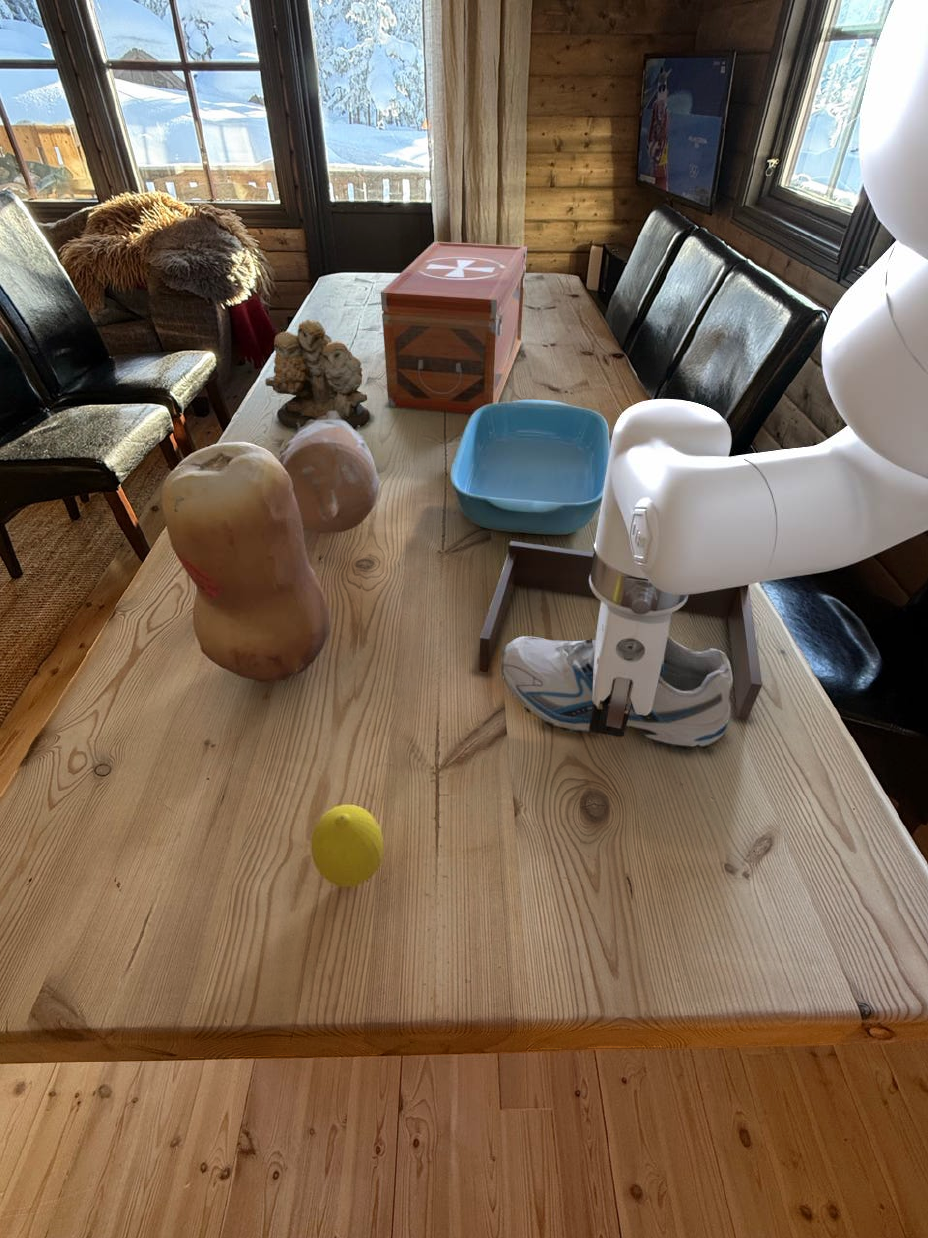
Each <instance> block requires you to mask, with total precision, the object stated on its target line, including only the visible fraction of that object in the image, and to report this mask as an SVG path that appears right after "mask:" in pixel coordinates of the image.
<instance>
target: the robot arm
mask: <svg viewBox="0 0 928 1238" xmlns="http://www.w3.org/2000/svg"><path fill="white" fill-rule="evenodd" d="M860 107H861V108H860V123H859V124H860V125H859V136H858V137H859V138H858V159H859V169H860V175H861V179H862V184H863V188H864V190H865V193H866V196H867V197H868V200H869V202H870V204H871V207H872V209H873V211H874V213H875V216H876V218H877V220H878V221H879V222H880V223H881V224H882V226H884V228H885V229H886V230H887V231H888V232H889V233H890V234H891V235H892V237H893V238H894V239H895V242H894V243H893V244H892V245H891V246H890V247H889V248H888V249H887V250H886V251H885V253H883V254H882V255H881V257H879V259H878V260H876V261H875V262H874V263H873V265H872V266H871V267H869V269H867V271H865V272H864V273H863V274H862V275H861V276H860V277H859V278H858V279H857V280H856V282H854V283H853V285H852V286H850V287H849V288H848V290H847V291H846V292H844V294H843V295H842V297H841V298H840V300H839V301H838V303H837V304H836V306H835V307H834V309H833V310H832V313H831V314H830V317H829V319H828V322H827V324H826V326H825V329H824V333H823V337H822V343H821V368H822V373H823V378H824V382H825V385H826V388H827V391H828V394H829V396H830V398H831V401H832V403H833V405H834V407H835V409H836V410H837V412H838V414H839V415H840V417H841V418H842V420H843V421H844V423H845V424H846V426H845V427H844V428H843V429H841V430H840V431H839V432H837V433H835V434H834V435H832V436H831V437H829V438H828V439H826V440H824V441H823V442H820V443H818V444H816V445H812V446H807V447H806V446H805V447H798V448H789V449H779V450H772V451H763V452H757V453H747V454H740V455H734V456H730V453H731V448H732V439H733V438H732V432H731V427H730V426H729V424H728V423H727V420H726V419H724V418H723V417H722V416H721V415H720V413H718V412H717V411H715V410H714V409H712V408H710V407H707V406H705V405H702V404H699V403H696V402H692V401H687V400H682V399H673V398H672V399H670V398H658V399H657V398H656V399H649V400H643V401H641V402H638V403H636V404H634V405H631V406H630V407H628V408H627V409H625V411H623V412H622V413H621V414H620V415H619V418H618V419H617V421H616V423H615V425H614V427H613V432H612V435H611V441H610V446H609V449H610V453H609V459H608V465H607V471H606V478H605V484H604V490H603V496H602V501H601V503H600V509H599V515H598V521H597V522H598V523H597V529H596V535H595V540H594V547H593V559H592V566H591V572H590V577H589V583H590V587H591V589H592V591H593V593H594V594H595V596H596V597H597V598H596V599H598V600H599V601H600V606H599V613H598V618H597V627H596V634H595V638H596V644H595V655H594V673H593V696H592V701H593V706H592V711H591V717H590V725H589V731H590V732H593V734H599V735H604V736H611V737H616V738H623V737H624V736H625V732H626V729H627V726H626V725H627V721H628V717H629V714H630V710H631V702H632V704H633V707H634V710H635V713H636V714H639V715H645V716H646V715H648V714H649V713H650V712H651V710H652V706H653V702H654V697H655V692H656V688H657V684H658V679H659V675H660V671H661V667H662V662H663V658H664V653H665V648H666V643H667V638H668V635H669V631H670V626H671V620H672V613H674V612H677V611H679V610H678V609H679V608H681V607H682V606H683V605H684V604H685V602H686V601H687V598H688V595H689V594H697V593H703V592H709V591H715V590H720V589H726V588H732V587H738V586H744V585H749V586H750V585H752V584H757V583H764V582H770V581H776V580H782V579H787V578H788V579H789V578H794V577H800V576H801V577H802V576H806V575H807V576H808V575H813V574H820V573H826V572H830V571H834V570H838V569H841V568H845V567H848V566H850V565H853V564H856V563H859V562H861V561H863V560H867V559H868V558H871V557H873V556H875V555H877V554H879V553H882V552H884V551H886V550H888V549H891V548H892V547H895V546H896V545H899V544H901V543H903V542H905V541H907V540H909V539H912V538H914V537H916V536H918V535H921V534H922V533H924V532H926V531H928V0H893V3H892V5H891V7H890V10H889V13H888V15H887V18H886V21H885V23H884V26H883V29H882V31H881V34H880V37H879V39H878V42H877V45H876V47H875V50H874V53H873V55H872V60H871V64H870V69H869V73H868V77H867V81H866V86H865V90H864V95H863V98H862V103H861V106H860ZM590 732H589V733H590Z"/></svg>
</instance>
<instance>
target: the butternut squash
mask: <svg viewBox="0 0 928 1238" xmlns="http://www.w3.org/2000/svg"><path fill="white" fill-rule="evenodd" d="M278 459H279V458H277V457H276V456H275V455H274V454H273V453H272V452H270V451H269V450H268V449H267V448H264V447H262V446H260V445H256V444H254V443H252V442H248V441H233V442H221V443H214V444H212V445H209V446H206V447H204V448H201V449H199V450H196V451H194V452H192V453H190V454H189V455H188V456H186V457H185V458H183V460H181V461H180V462H179V463H178V464H177V466H175V467H174V469H173V470H172V471H171V472H170V473H169V474H168V475H167V477H166V479H165V481H164V483H163V485H162V490H161V508H162V513H163V516H164V522H165V526H166V529H167V533H168V537H169V540H170V545H171V548H172V549H173V552H174V553H175V555H176V557H177V559H178V560H179V562H180V563H181V565H182V567H183V569H184V570H185V571H186V573H187V574H188V576H189V577H190V579H191V581H192V582H193V583H194V585H195V587H196V592H195V595H194V602H193V609H192V621H193V629H194V633H195V636H196V639H197V641H198V644H199V647H200V651H201V653H203V655H205V657H207V658H208V659H209V660H210V661H211V662H213V663H214V664H215V665H217V666H218V667H219V668H221V669H224V670H227V671H228V672H230V673H232V674H234V675H236V676H239V677H241V678H244V679H248V680H253V681H257V682H259V683H264V682H274V681H278V682H284V681H286V680H287V679H288V678H291V677H292V676H295V675H301V674H302V673H303V672H304V671H305V670H307V669H308V668H309V667H310V665H312V663H313V662H314V661H315V660H316V659H317V657H318V656H319V654H320V653H321V652H322V650H323V649H324V647H325V645H326V642H327V639H328V637H329V635H330V633H331V631H330V609H329V606H328V602H327V599H326V596H325V592H324V589H323V588H322V586H321V584H320V582H319V580H318V578H317V576H316V573H315V571H314V569H313V568H312V566H311V564H310V561H309V559H308V556H307V550H306V544H305V535H304V527H303V525H302V519H301V515H300V512H299V508H298V505H297V501H296V498H295V495H294V492H293V484H292V481H291V478H290V476H289V474H288V473H287V472H286V470H285V469H284V468H283V466H282V465H281V463H280V462H279V461H278Z"/></svg>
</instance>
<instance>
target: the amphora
mask: <svg viewBox="0 0 928 1238" xmlns="http://www.w3.org/2000/svg"><path fill="white" fill-rule="evenodd" d="M277 459H278V461H279V462H280V463H281V465H282V466H283V468H284V469H285V470H286V472H287V473H288V474H289V476H290V478H291V481H292V484H293V492H294V495H295V498H296V501H297V505H298V508H299V512H300V515H301V519H302V525H303V528H305V529H307V530H309V531H311V532H313V533H318V534H341V533H345V532H348V531H351V530H353V529H354V528H356V527H358V526H360V524H362V522H364V520H366V519H367V517H368V516H369V515H370V513H371V512H372V510H373V509H374V507H376V504H377V499H378V496H379V491H380V480H379V475H378V471H377V467H376V464H375V460H374V457H373V455H372V452H371V451H370V449H369V447H368V445H367V443H366V440H365V438H364V437H363V436H362V435H361V434H360V433H359V432H358V431H356V429H353V428H352V426H350V425H349V424H348V423H347V422H346V421H344V420H343V419H341V418H340V416H339V414H338V412H337V411H328V412H327V414H326V415H324V416H321V417H319V418H318V419H316V420H312V419H311V420H309V421H307V422H306V424H305V425H304V426H303V427H301V428H300V427H299V428H298V429H297V430H296V432H295V433H294V434H293V436H291V438H290V441H289V442H287V443H286V444H285V445H284V447H283V448H282V449H280V450H279V458H277Z"/></svg>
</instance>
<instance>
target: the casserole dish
mask: <svg viewBox="0 0 928 1238" xmlns="http://www.w3.org/2000/svg"><path fill="white" fill-rule="evenodd" d="M609 429H610V428H609V425H608V422H607V419H605V417H604V416H603V415H602V414H600V413H599V412H597V411H595V410H593V409H589V408H586V407H579V406H574V405H571V404H567V403H564V402H560V401H555V400H548V399H547V400H546V399H518V400H514V401H508V402H507V401H505V402H503V401H502V402H498V403H493V404H488V405H485V406H483V407H481V408H479V409H477V410H476V411H475V412H474V413H473V414H471V415H470V417H469V418H468V421H467V422H466V425H465V427H464V429H463V432H462V436H461V438H460V441H459V444H458V447H457V450H456V453H455V456H454V460H453V461H452V462H453V463H452V465H451V471H450V481H451V485H452V487H453V490H454V493H455V496H456V499H457V502H458V505H459V506H460V510H461V511H462V513H463V515H464V516H465V517H466V518H467V519H468V520H469V521H470V522H471V523H473V524H475V525H477V526H479V527H480V528H483V529H488V530H493V531H500V532H508V533H519V534H521V533H525V534H533V535H534V534H535V535H547V536H549V535H550V536H561V535H563V536H564V535H569V534H572V533H575V532H578V531H579V530H582V528H584V527H585V526H587V525H588V524H589V523H590V522H591V520H592V519H593V518H594V516H595V514H596V513H597V511H598V509H599V507H600V506H601V503H602V496H603V490H604V484H605V478H606V471H607V465H608V459H609V453H610V430H609Z"/></svg>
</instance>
